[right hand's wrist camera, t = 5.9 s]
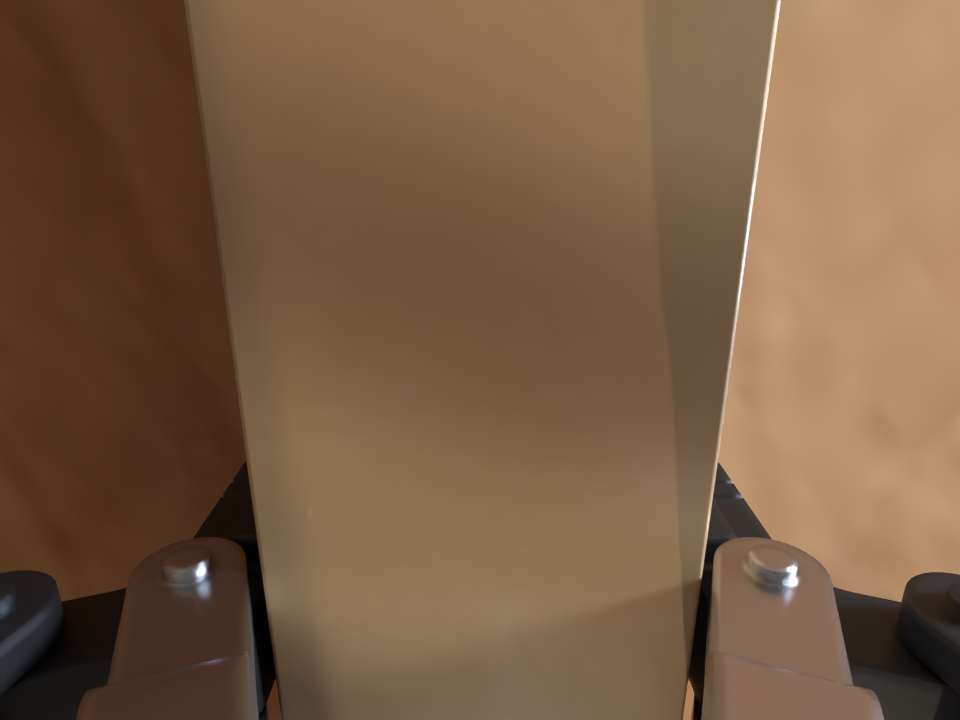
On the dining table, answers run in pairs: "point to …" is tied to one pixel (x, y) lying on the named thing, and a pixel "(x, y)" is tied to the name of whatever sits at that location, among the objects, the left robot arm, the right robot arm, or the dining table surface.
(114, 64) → the dining table surface
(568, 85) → the bar
